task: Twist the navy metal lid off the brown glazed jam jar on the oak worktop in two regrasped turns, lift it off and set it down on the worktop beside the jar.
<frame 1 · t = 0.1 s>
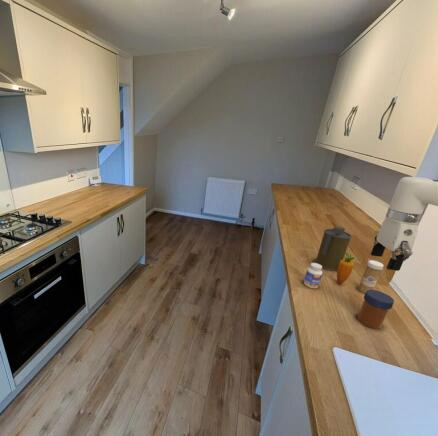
hand: (383, 262, 82), 20 cm above the counter, tool pointing down, fingers open, 9 cm apart
canister: (327, 265, 118), on the counter
carrot: (339, 284, 103), on the counter
pill bottle: (310, 285, 102), on the counter
jar: (368, 321, 82), on the counter
sprinkles bottle: (364, 291, 99), on the counter
lid: (379, 297, 79), point 10 cm above the counter, screwed on, not yet turned
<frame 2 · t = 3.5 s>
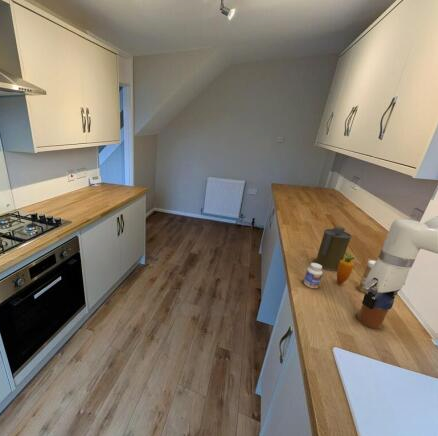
hand: (376, 304, 80), 7 cm above the counter, tool pointing down, fingers closed on lid, 6 cm apart
lid: (379, 297, 79), point 10 cm above the counter, screwed on, not yet turned, touching gripper
everything else where it was.
when the fingers open (7 cm above the counter, at t = 6.0 s): lid stays where it is, point 11 cm above the counter.
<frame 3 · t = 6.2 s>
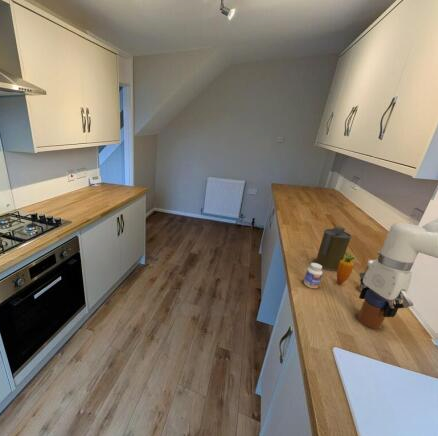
hand: (375, 306, 80), 6 cm above the counter, tool pointing down, fingers open, 8 cm apart
lid: (379, 296, 79), point 11 cm above the counter, turned 79° so far, risen 0.2 cm, still on its thread
everything else where it was.
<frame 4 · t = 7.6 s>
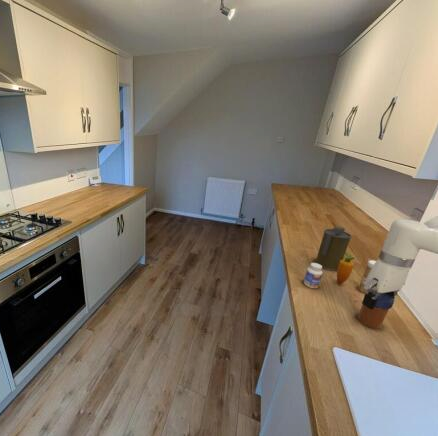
hand: (376, 304, 80), 7 cm above the counter, tool pointing down, fingers closed on lid, 6 cm apart
lid: (379, 296, 79), point 11 cm above the counter, turned 79° so far, risen 0.2 cm, still on its thread, touching gripper
everything else where it was.
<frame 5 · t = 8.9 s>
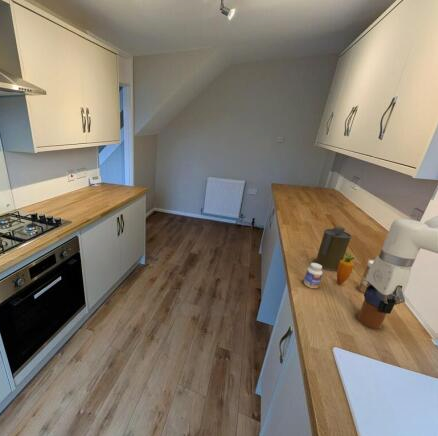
hand: (376, 304, 80), 7 cm above the counter, tool pointing down, fingers closed on lid, 6 cm apart
lid: (379, 296, 79), point 11 cm above the counter, turned 142° so far, risen 0.4 cm, still on its thread, touching gripper
everything else where it was.
when the fingers open (0 cm above the counter, at t = 18.2 s): lid drops 1 cm, point 2 cm above the counter.
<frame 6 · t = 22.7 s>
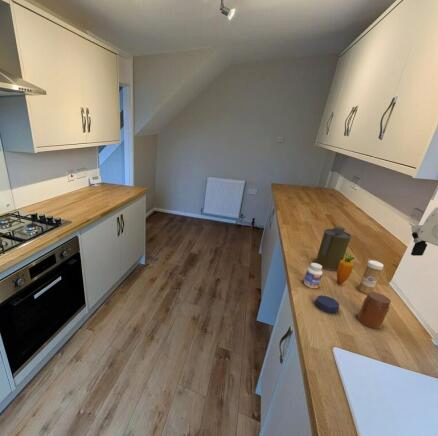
hand: (434, 263, 69), 26 cm above the counter, tool pointing down, fingers open, 9 cm apart
lid: (327, 302, 88), point 2 cm above the counter, off its thread
everything else where it was.
at the end: lid came off its thread; lid point 2.3 cm above the counter; the gripper is holding nothing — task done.
